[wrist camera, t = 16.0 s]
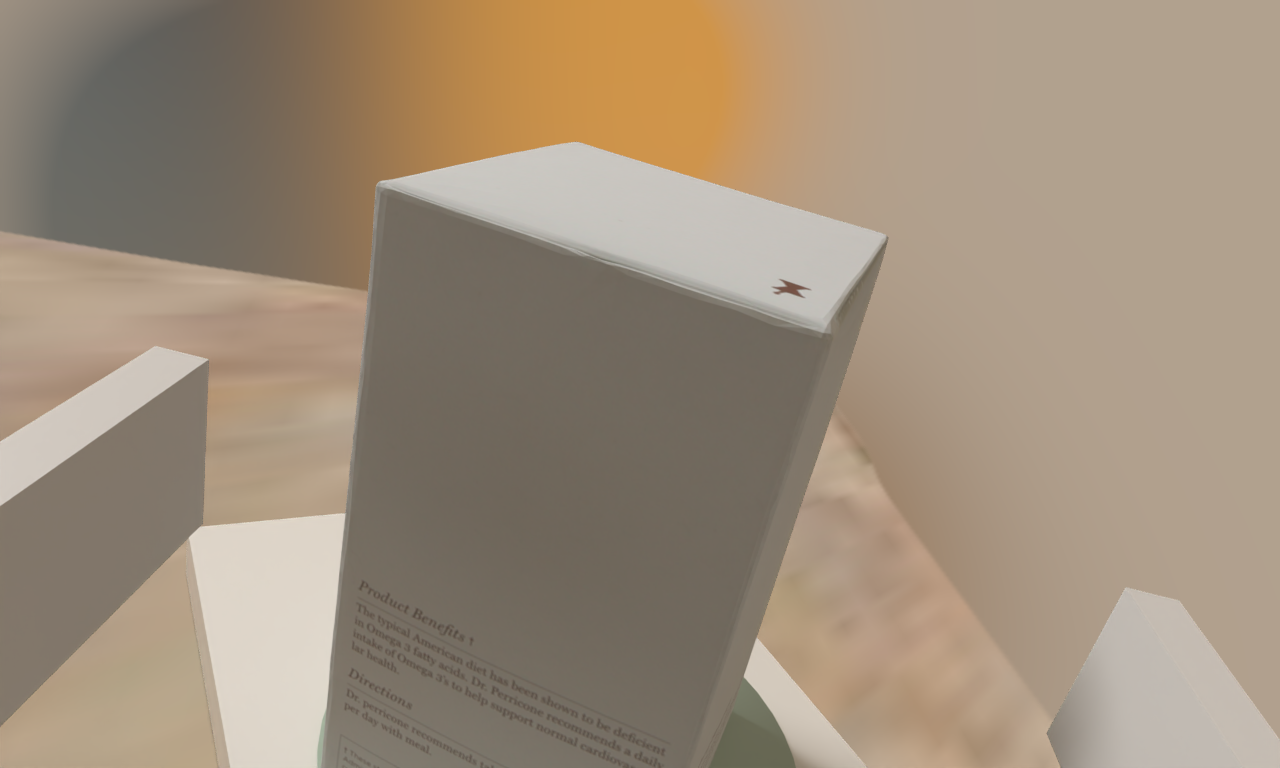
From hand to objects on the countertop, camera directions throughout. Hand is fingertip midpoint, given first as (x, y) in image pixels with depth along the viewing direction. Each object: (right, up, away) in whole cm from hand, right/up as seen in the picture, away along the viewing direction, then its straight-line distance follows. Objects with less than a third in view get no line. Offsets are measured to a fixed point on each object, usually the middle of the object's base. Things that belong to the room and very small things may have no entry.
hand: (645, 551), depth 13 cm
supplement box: (-2, -6, +8) cm, 10 cm away
